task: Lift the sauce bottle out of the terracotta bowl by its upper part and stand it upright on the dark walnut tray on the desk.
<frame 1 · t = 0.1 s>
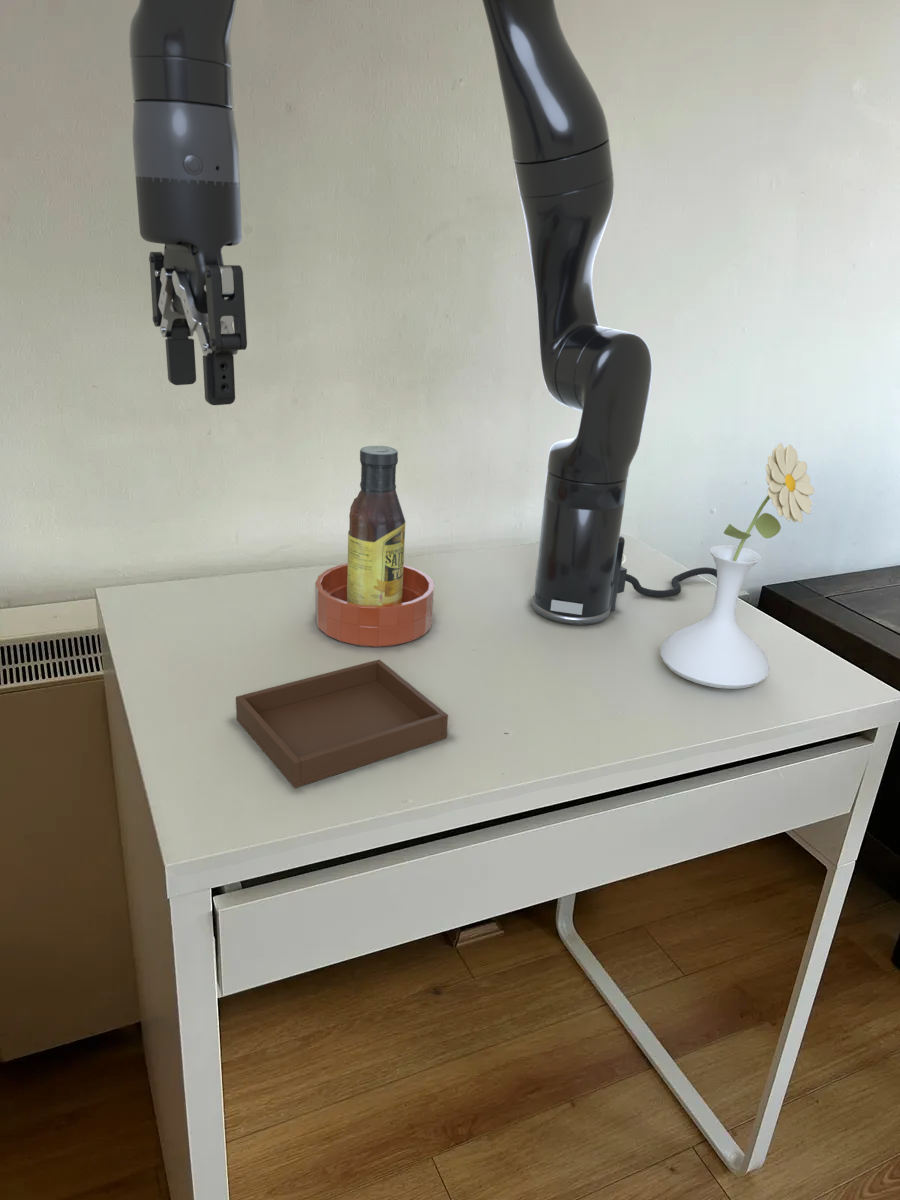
hand: (200, 393, 74), 29 cm above the table, tool pointing down, fingers open, 8 cm apart
flower in vase: (717, 673, 97), on the table
bowl: (374, 622, 103), on the table
sauce bottle: (374, 621, 103), resting on bowl
tray: (341, 729, 83), on the table
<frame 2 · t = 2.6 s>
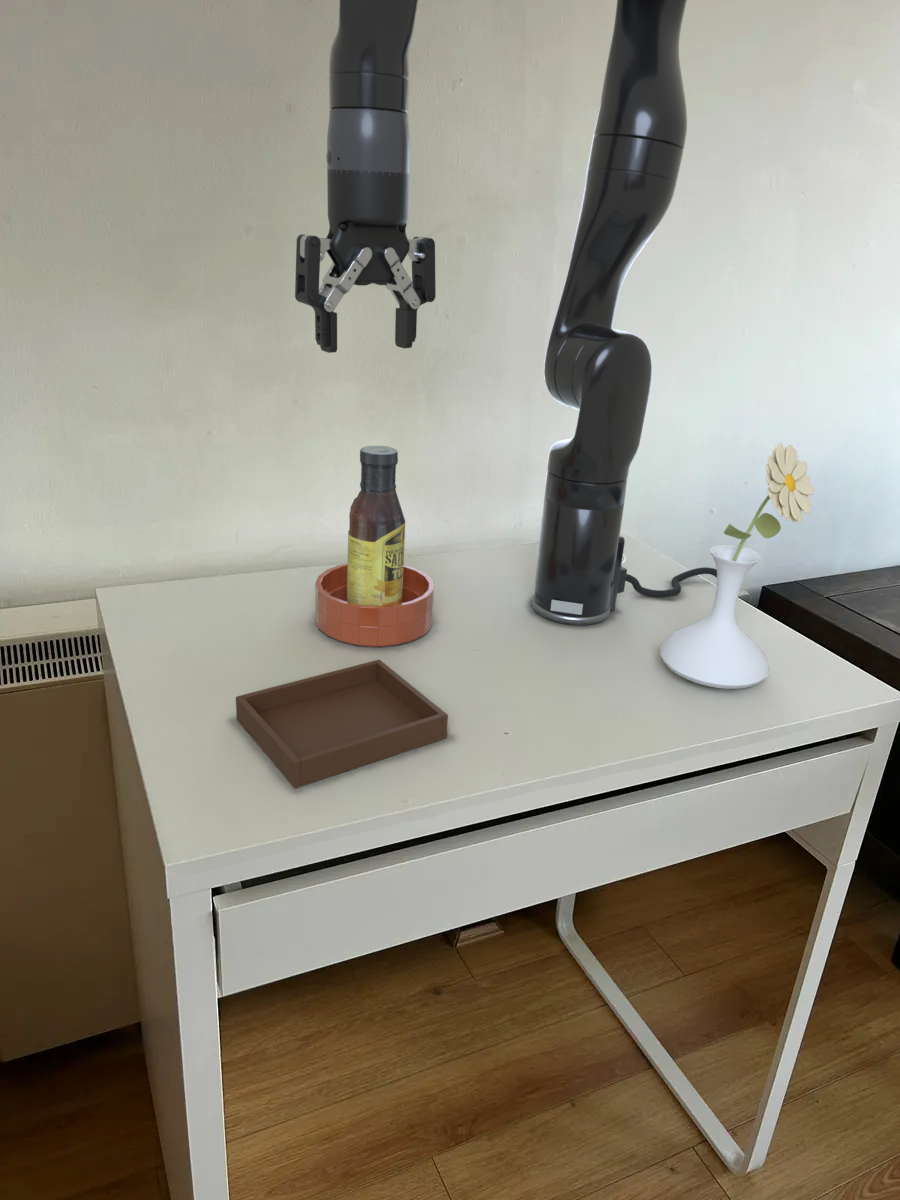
hand: (367, 349, 89), 31 cm above the table, tool pointing down, fingers open, 8 cm apart
nothing on the table moved.
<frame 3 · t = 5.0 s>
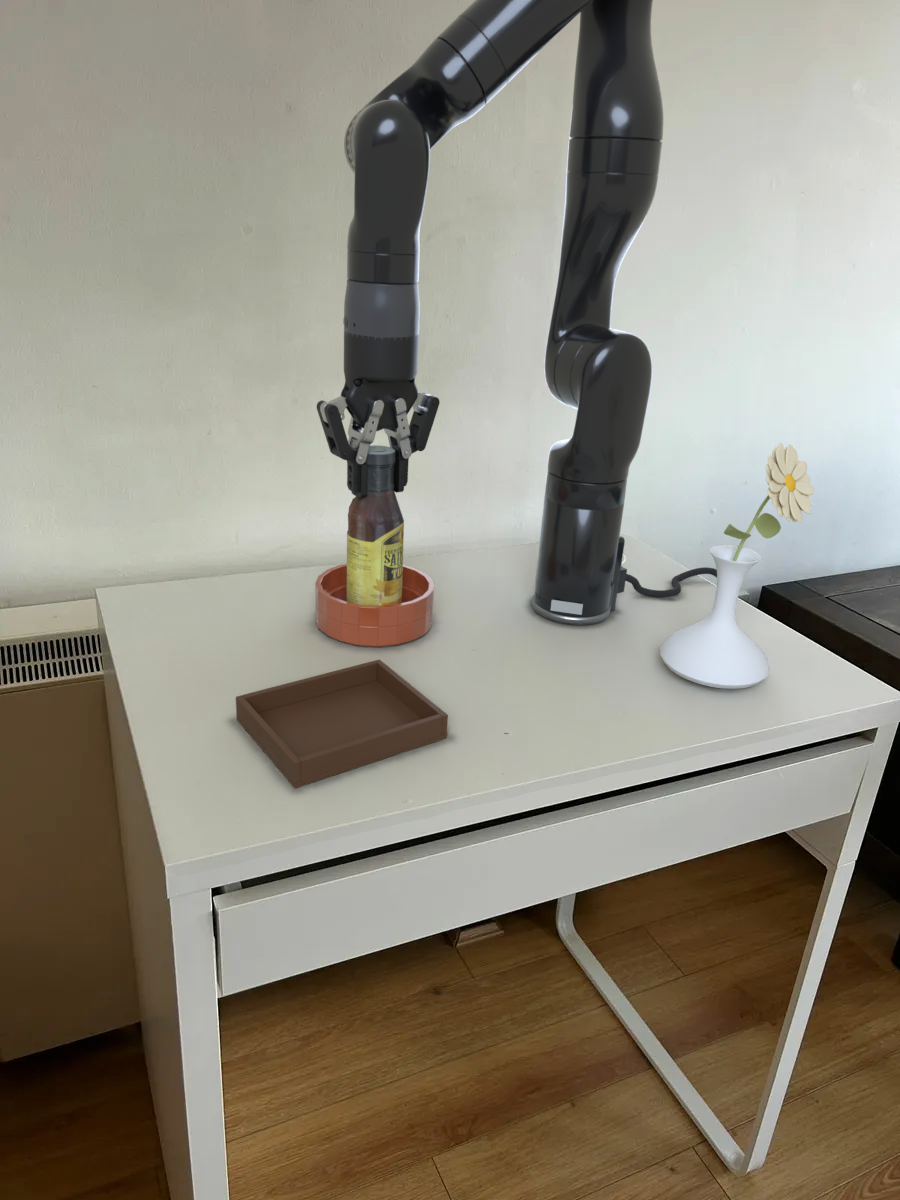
hand: (377, 492, 97), 16 cm above the table, tool pointing down, fingers closed on sauce bottle, 4 cm apart
sauce bottle: (374, 620, 103), resting on bowl, touching gripper
everything else where it was.
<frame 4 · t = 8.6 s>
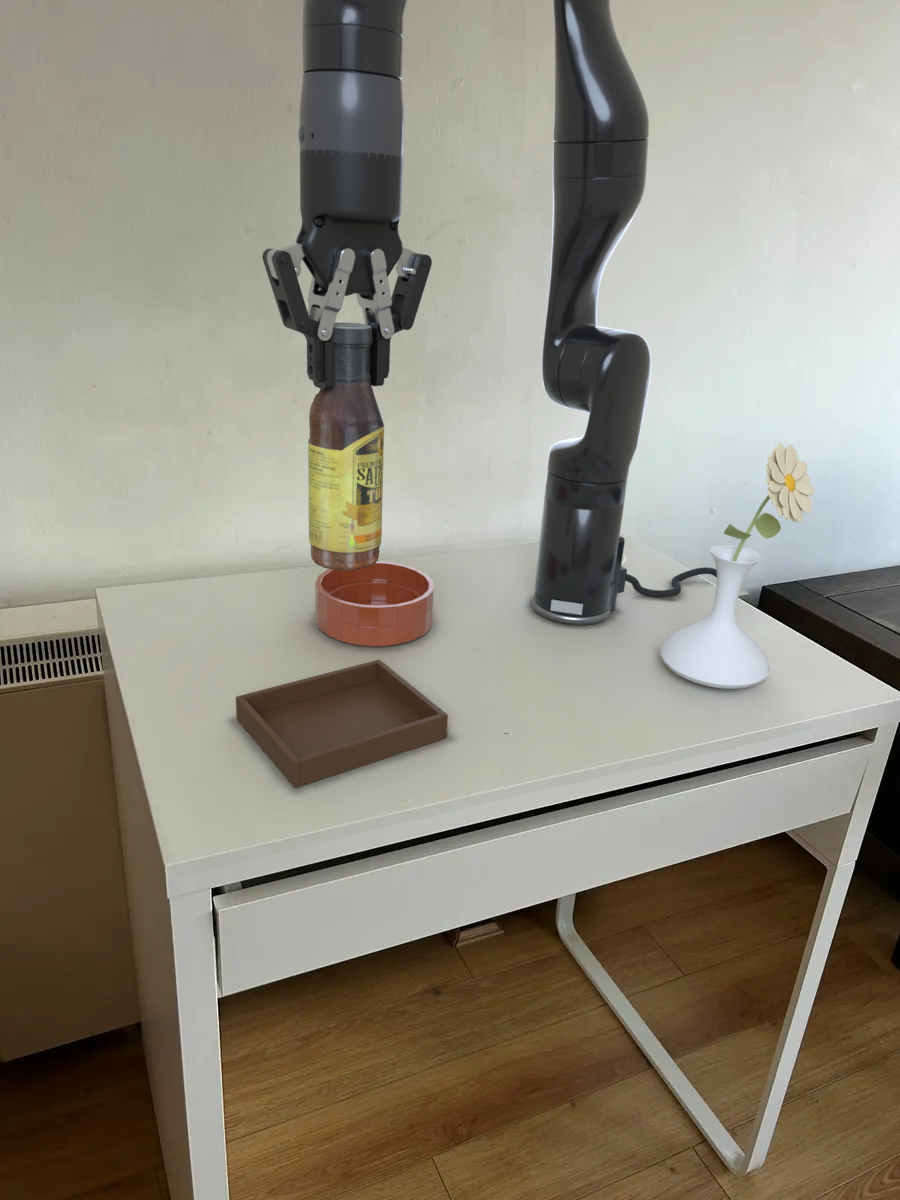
hand: (349, 384, 73), 31 cm above the table, tool pointing down, fingers closed on sauce bottle, 4 cm apart
sauce bottle: (345, 562, 79), point 15 cm above the table, touching gripper
everything else where it was.
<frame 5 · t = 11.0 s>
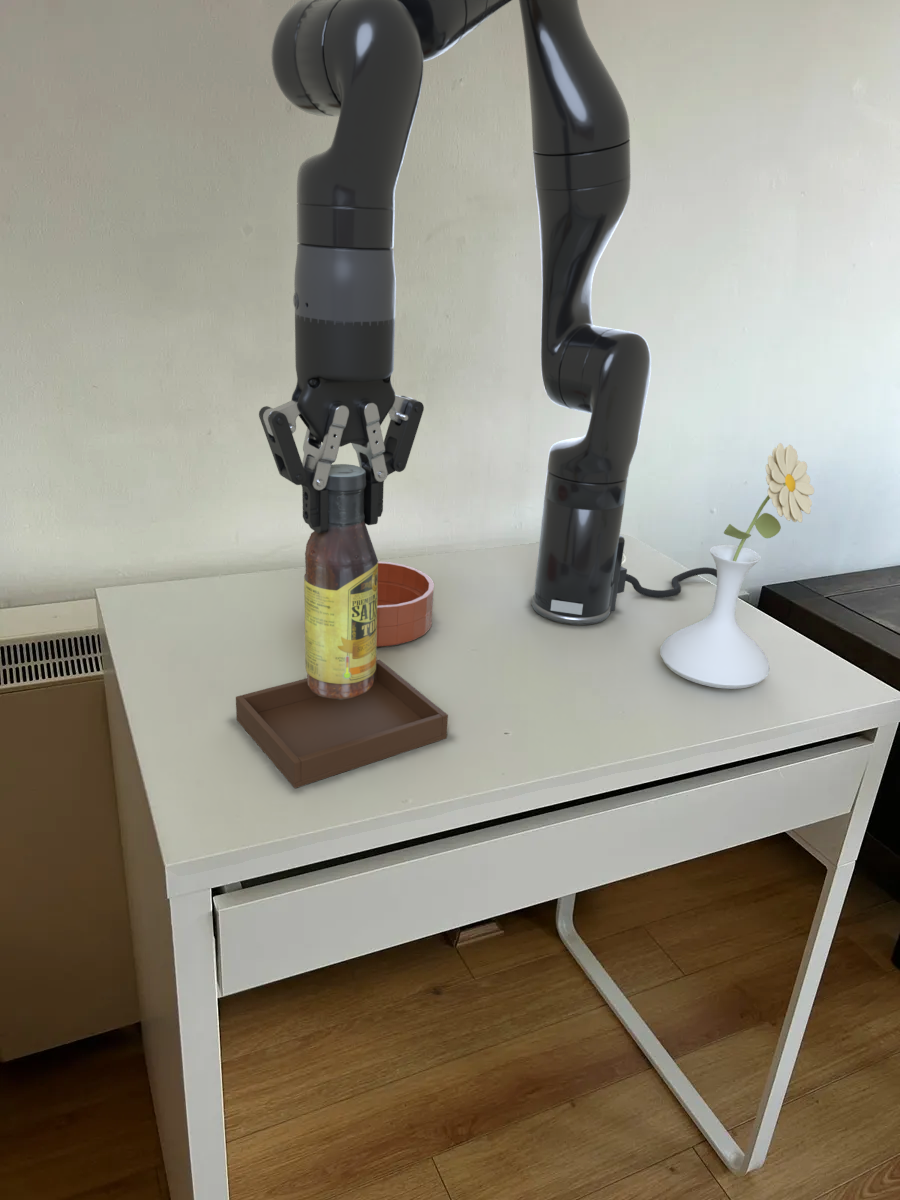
hand: (343, 525, 75), 20 cm above the table, tool pointing down, fingers closed on sauce bottle, 4 cm apart
sauce bottle: (341, 686, 81), point 4 cm above the table, touching gripper
everything else where it was.
when the fingers open (16 cm above the table, at t = 12.5 s): sauce bottle stays where it is, resting on tray.
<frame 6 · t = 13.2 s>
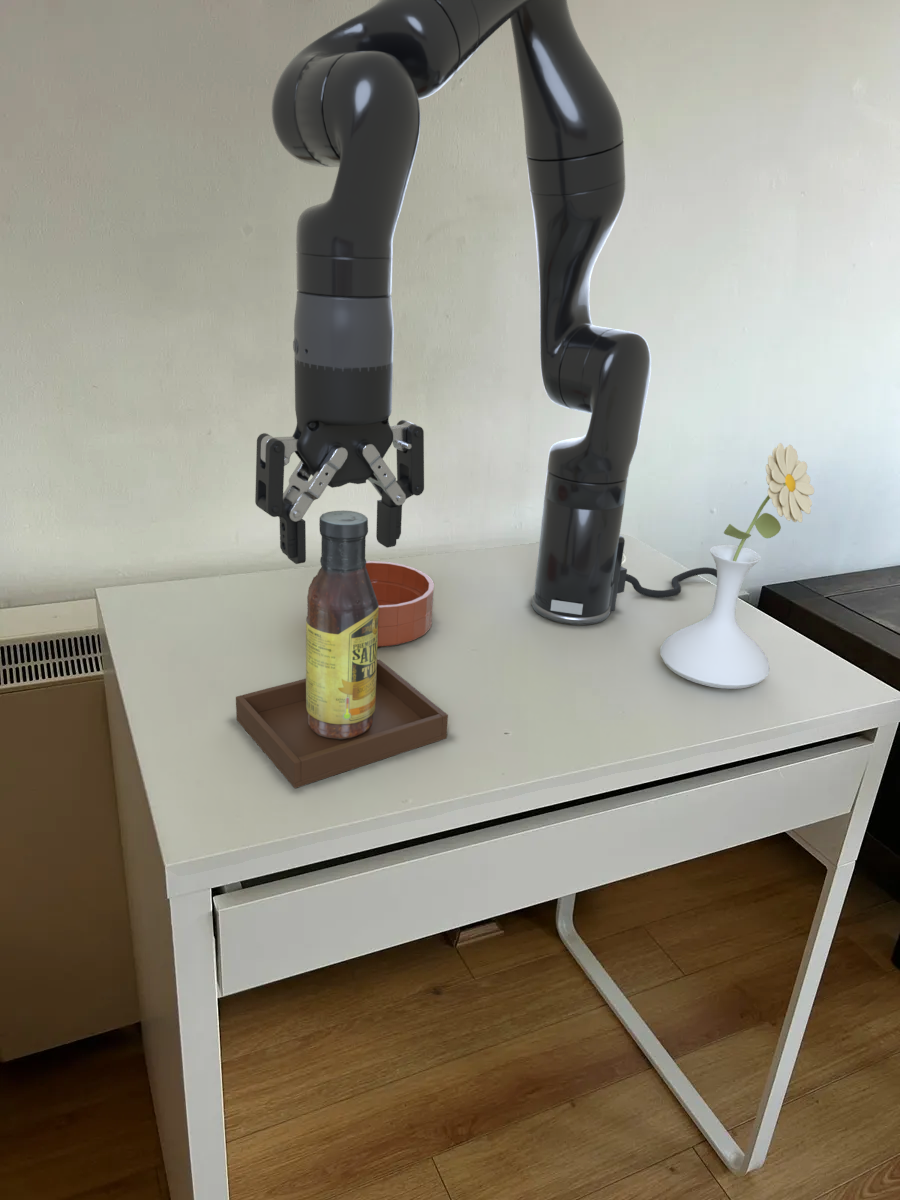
hand: (342, 552, 76), 17 cm above the table, tool pointing down, fingers open, 8 cm apart
sauce bottle: (341, 725, 83), resting on tray
everything else where it was.
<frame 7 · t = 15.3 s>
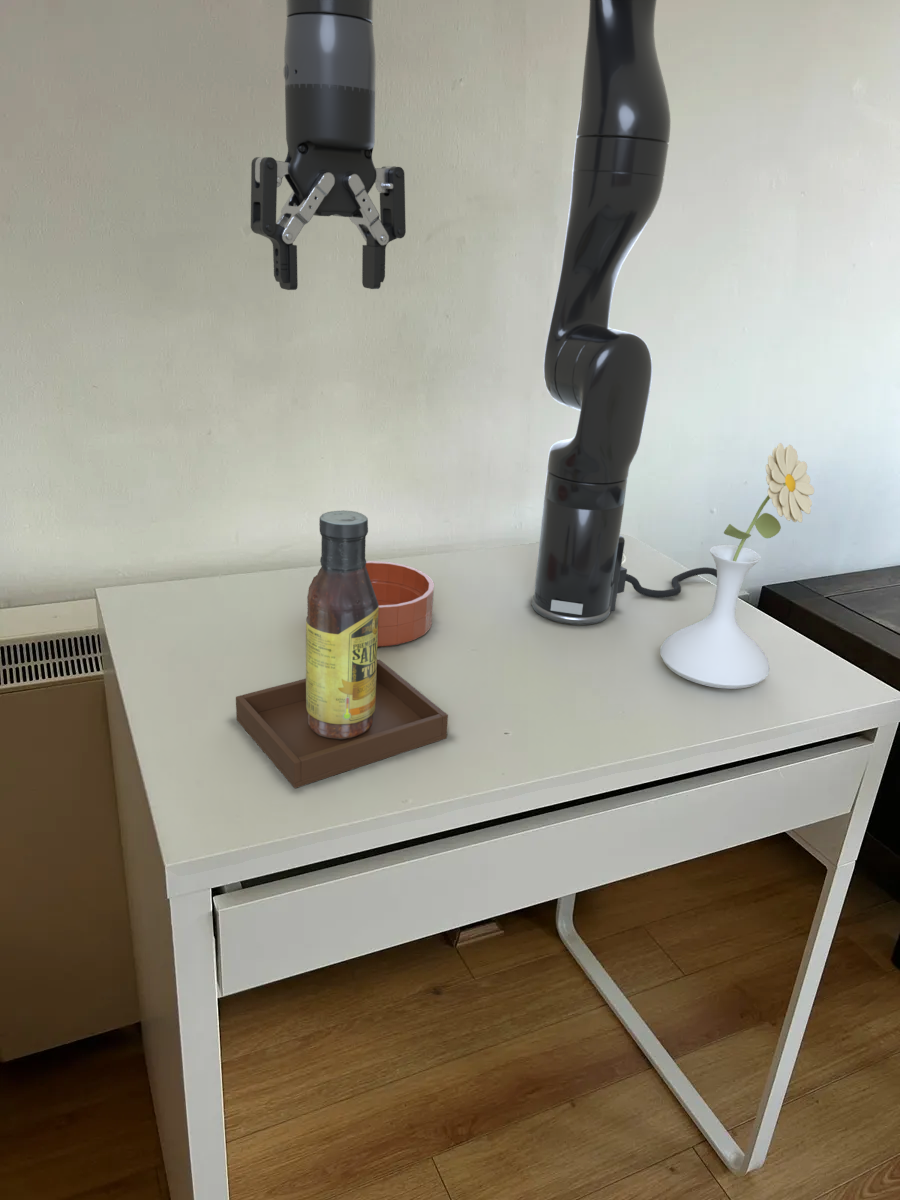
hand: (331, 288, 82), 37 cm above the table, tool pointing down, fingers open, 8 cm apart
nothing on the table moved.
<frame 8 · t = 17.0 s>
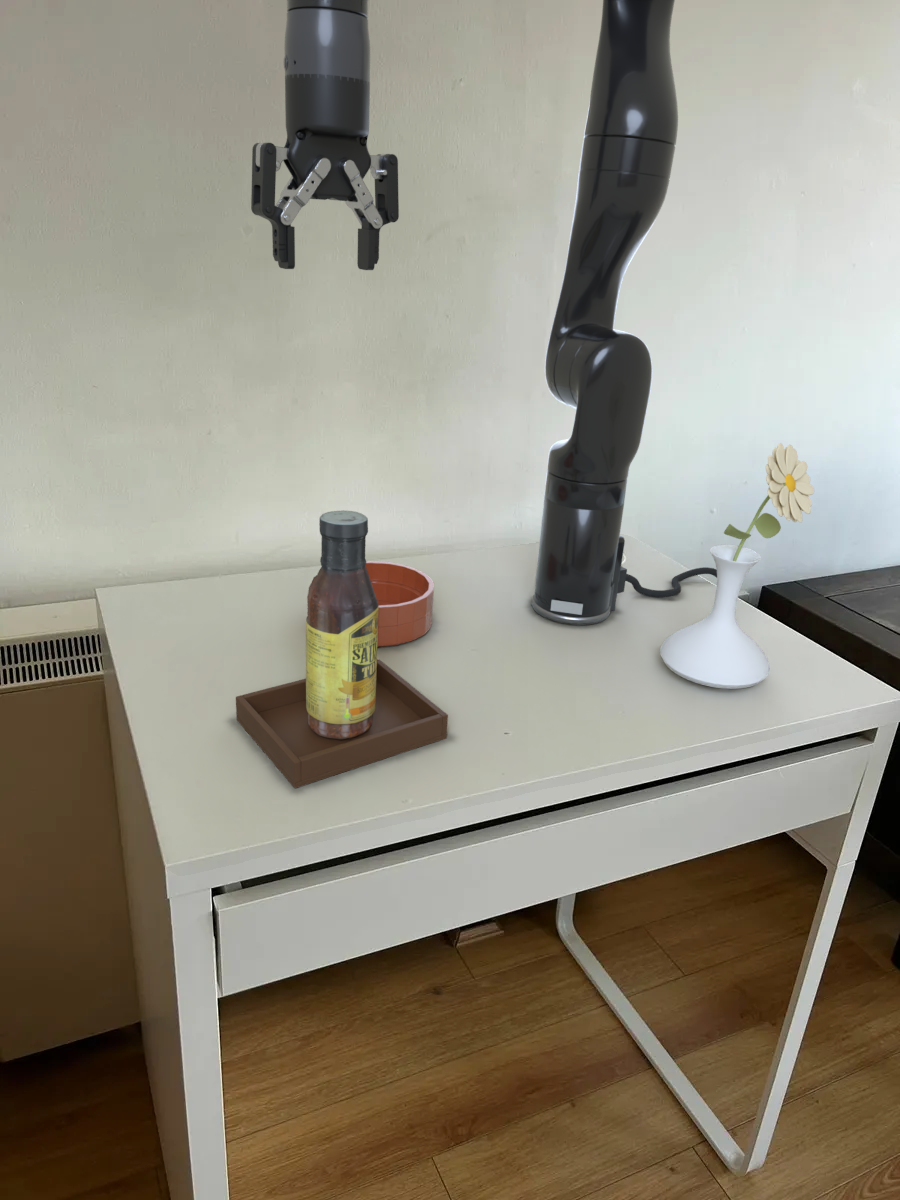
hand: (327, 269, 87), 38 cm above the table, tool pointing down, fingers open, 8 cm apart
nothing on the table moved.
at the end: sauce bottle inside the target area in the tray (0.1 cm from its centre), point 0.3 cm above the tray's base; sauce bottle tilted 0°; sauce bottle touching tray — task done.
